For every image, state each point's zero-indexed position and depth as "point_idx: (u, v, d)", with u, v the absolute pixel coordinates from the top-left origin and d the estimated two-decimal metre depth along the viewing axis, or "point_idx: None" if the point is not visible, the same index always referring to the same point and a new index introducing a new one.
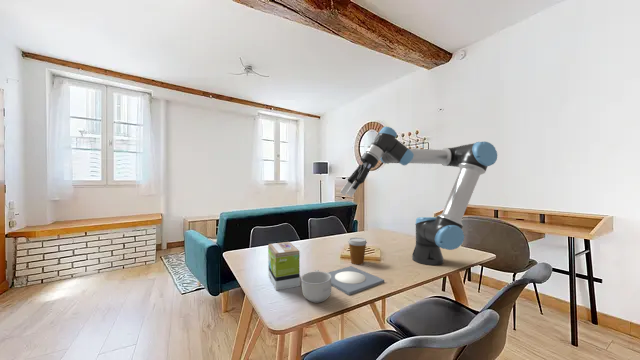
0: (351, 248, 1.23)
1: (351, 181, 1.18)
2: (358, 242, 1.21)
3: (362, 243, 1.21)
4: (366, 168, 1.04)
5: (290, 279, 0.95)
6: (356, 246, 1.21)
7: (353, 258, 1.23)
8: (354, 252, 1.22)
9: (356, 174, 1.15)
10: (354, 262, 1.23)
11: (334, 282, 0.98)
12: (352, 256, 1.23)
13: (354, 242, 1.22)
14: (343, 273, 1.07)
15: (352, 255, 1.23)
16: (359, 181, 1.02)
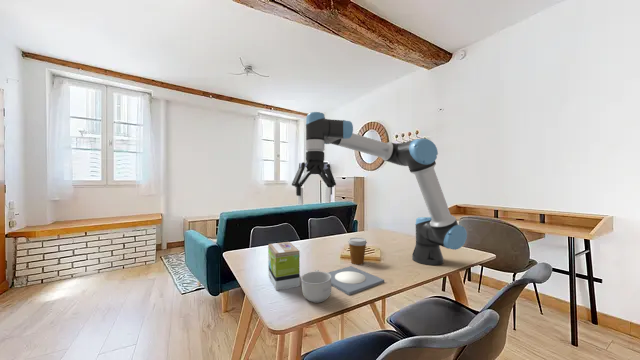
0: (351, 248, 1.23)
1: None
2: (358, 242, 1.21)
3: (362, 243, 1.21)
4: (299, 169, 0.95)
5: (290, 279, 0.95)
6: (356, 246, 1.21)
7: (353, 258, 1.23)
8: (354, 252, 1.22)
9: (321, 176, 1.01)
10: (354, 262, 1.23)
11: (334, 282, 0.98)
12: (352, 256, 1.23)
13: (354, 242, 1.22)
14: (343, 273, 1.07)
15: (352, 255, 1.23)
16: (295, 186, 0.94)
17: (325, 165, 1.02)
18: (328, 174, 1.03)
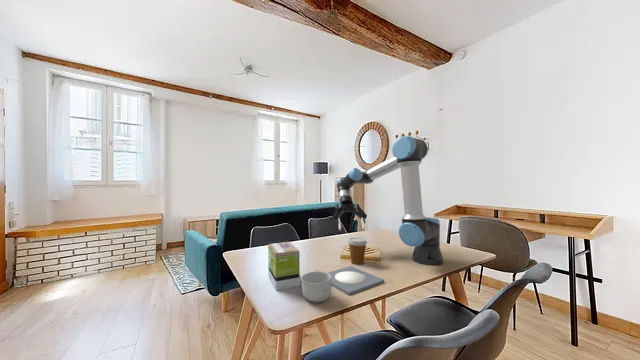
0: (351, 248, 1.23)
1: None
2: (358, 242, 1.21)
3: (362, 243, 1.21)
4: None
5: (290, 279, 0.95)
6: (356, 246, 1.21)
7: (353, 258, 1.23)
8: (354, 252, 1.22)
9: (354, 212, 1.43)
10: (354, 262, 1.23)
11: (334, 282, 0.98)
12: (352, 256, 1.23)
13: (354, 242, 1.22)
14: (343, 273, 1.07)
15: (352, 255, 1.23)
16: (334, 218, 1.38)
17: (355, 205, 1.46)
18: (359, 210, 1.44)
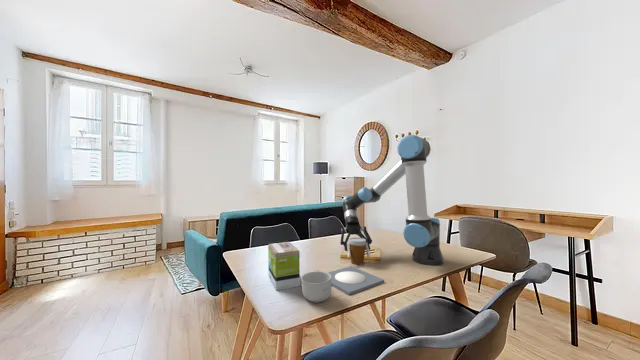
0: (351, 248, 1.23)
1: None
2: (358, 242, 1.21)
3: (362, 243, 1.21)
4: None
5: (290, 279, 0.95)
6: (356, 246, 1.21)
7: (353, 258, 1.23)
8: (354, 252, 1.22)
9: (359, 235, 1.31)
10: (354, 262, 1.23)
11: (334, 282, 0.98)
12: (352, 256, 1.23)
13: (354, 242, 1.22)
14: (343, 273, 1.07)
15: (352, 255, 1.23)
16: (342, 244, 1.27)
17: (362, 227, 1.34)
18: (365, 234, 1.32)
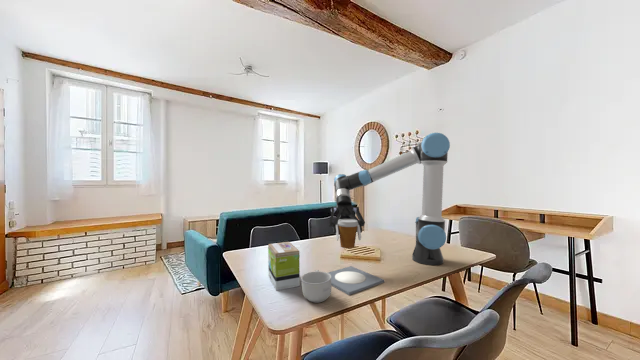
0: (340, 230, 1.09)
1: (358, 223, 1.13)
2: (348, 223, 1.07)
3: (352, 224, 1.07)
4: (331, 213, 1.18)
5: (290, 279, 0.95)
6: (346, 227, 1.07)
7: (342, 241, 1.09)
8: (343, 234, 1.08)
9: (351, 217, 1.17)
10: (343, 245, 1.09)
11: (334, 282, 0.98)
12: (341, 239, 1.09)
13: (343, 223, 1.07)
14: (343, 273, 1.07)
15: (341, 238, 1.09)
16: (331, 225, 1.13)
17: (354, 208, 1.19)
18: (358, 215, 1.17)
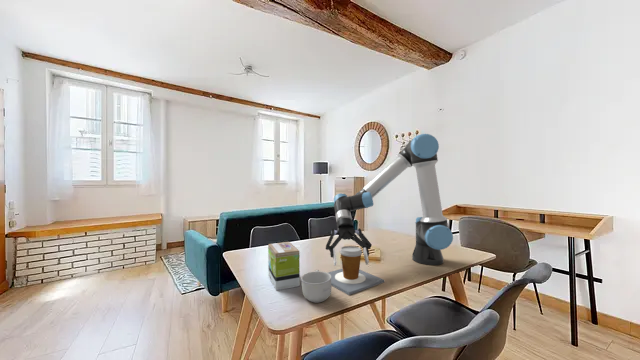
0: (343, 259, 1.02)
1: None
2: (351, 252, 0.99)
3: (356, 253, 1.00)
4: None
5: (290, 279, 0.95)
6: (349, 257, 1.00)
7: (345, 271, 1.01)
8: (347, 264, 1.00)
9: (355, 240, 1.10)
10: (347, 276, 1.01)
11: (334, 282, 0.98)
12: (344, 269, 1.02)
13: (346, 252, 1.00)
14: None
15: (344, 268, 1.02)
16: (328, 248, 1.05)
17: (356, 230, 1.13)
18: (362, 238, 1.10)
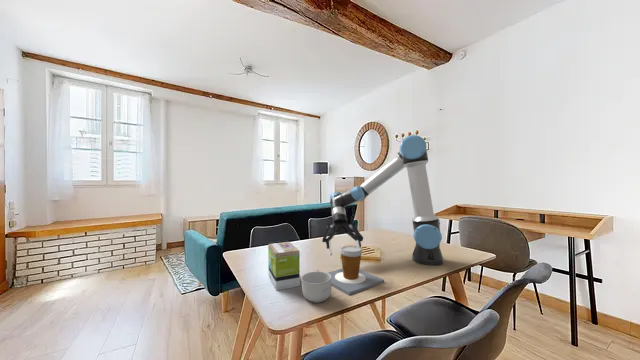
0: (343, 259, 1.02)
1: (357, 239, 1.20)
2: (351, 252, 0.99)
3: (356, 254, 1.00)
4: (327, 230, 1.23)
5: (290, 279, 0.95)
6: (349, 257, 1.00)
7: (345, 271, 1.01)
8: (347, 264, 1.00)
9: (349, 234, 1.23)
10: (347, 276, 1.01)
11: (334, 282, 0.98)
12: (344, 269, 1.02)
13: (347, 252, 1.00)
14: None
15: (344, 268, 1.02)
16: (324, 241, 1.18)
17: (350, 225, 1.26)
18: (355, 231, 1.23)
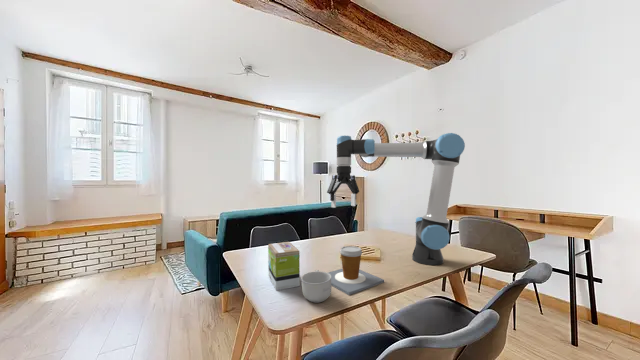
0: (343, 259, 1.02)
1: None
2: (351, 252, 0.99)
3: (356, 253, 1.00)
4: (332, 180, 1.23)
5: (290, 279, 0.95)
6: (349, 257, 1.00)
7: (345, 271, 1.01)
8: (347, 264, 1.00)
9: (348, 185, 1.29)
10: (347, 276, 1.01)
11: (334, 282, 0.98)
12: (344, 269, 1.02)
13: (347, 252, 1.00)
14: None
15: (344, 268, 1.02)
16: (329, 193, 1.21)
17: (351, 176, 1.29)
18: (353, 183, 1.31)
